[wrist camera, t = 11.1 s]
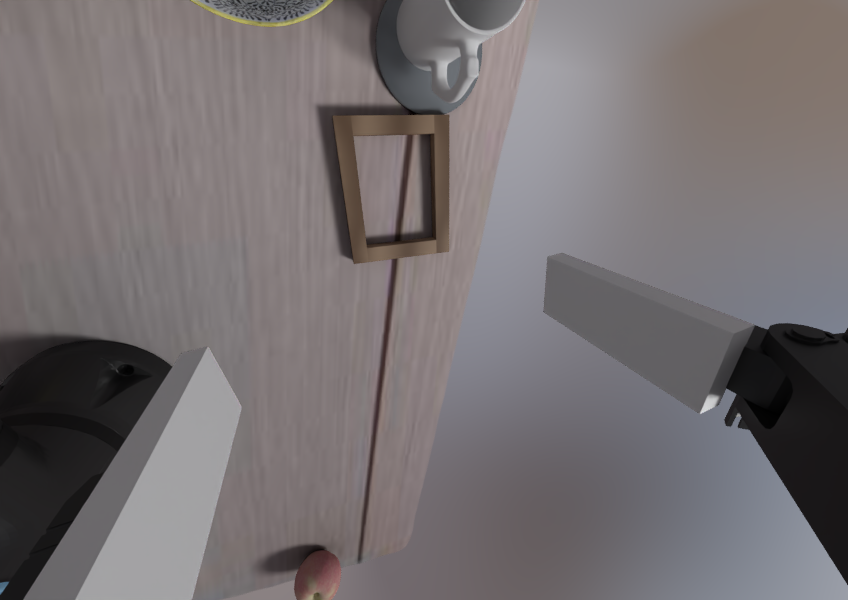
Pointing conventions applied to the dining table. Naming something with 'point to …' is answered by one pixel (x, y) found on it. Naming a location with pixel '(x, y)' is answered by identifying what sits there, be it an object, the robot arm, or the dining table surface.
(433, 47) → the mug
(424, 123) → the holder
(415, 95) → the coaster
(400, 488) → the dining table surface
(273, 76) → the dining table surface
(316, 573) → the apple
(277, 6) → the bowl
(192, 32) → the dining table surface
